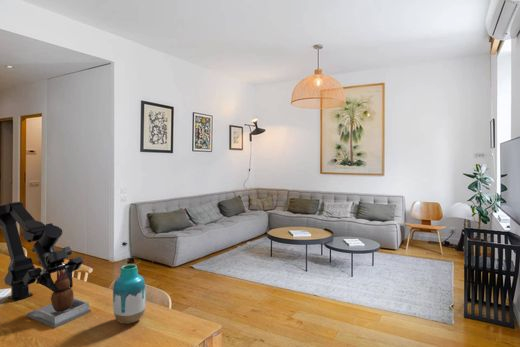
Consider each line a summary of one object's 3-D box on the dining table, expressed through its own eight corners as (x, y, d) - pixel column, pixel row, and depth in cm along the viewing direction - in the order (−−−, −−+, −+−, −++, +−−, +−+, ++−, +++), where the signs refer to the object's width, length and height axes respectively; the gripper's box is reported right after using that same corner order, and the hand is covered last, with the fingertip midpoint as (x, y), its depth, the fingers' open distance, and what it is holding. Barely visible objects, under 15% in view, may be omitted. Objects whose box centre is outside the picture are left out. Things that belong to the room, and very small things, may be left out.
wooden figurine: (57, 315, 114) (55, 273, 113) (48, 311, 117) (47, 269, 116) (76, 307, 120) (75, 267, 119) (68, 303, 123) (67, 264, 122)
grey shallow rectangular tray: (26, 316, 118) (26, 306, 118) (63, 301, 130) (62, 293, 129) (54, 328, 110) (54, 317, 110) (90, 311, 121) (90, 302, 121)
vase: (152, 316, 118) (151, 263, 117) (132, 330, 108) (130, 273, 107) (128, 311, 122) (127, 260, 121) (106, 325, 112) (104, 269, 111)
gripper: (25, 247, 111) (44, 286, 106) (80, 235, 127) (98, 269, 122) (15, 266, 116) (32, 304, 111) (68, 252, 132) (86, 285, 127)
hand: (64, 289), depth 117 cm, fingers closed on wooden figurine, 5 cm apart
